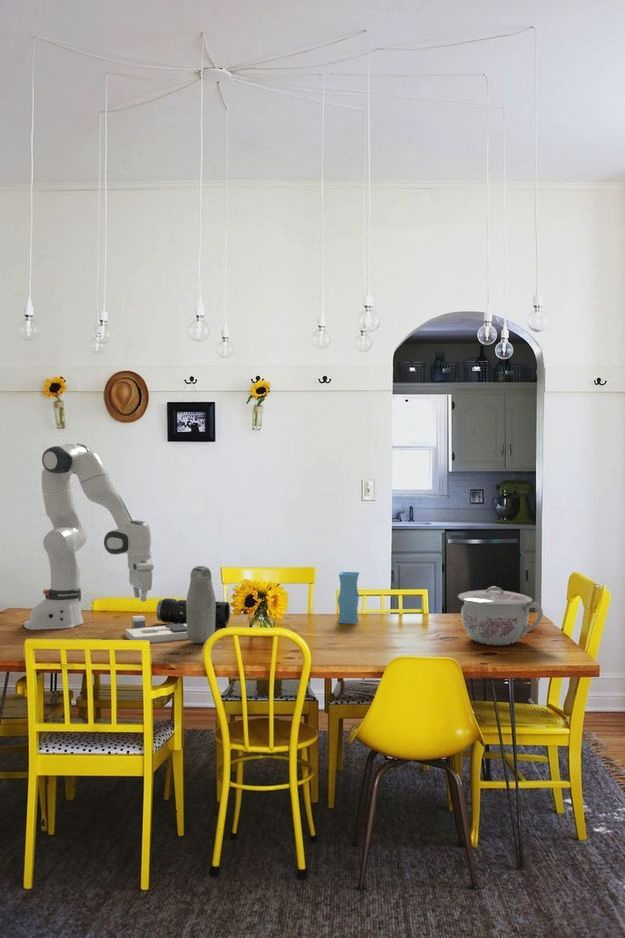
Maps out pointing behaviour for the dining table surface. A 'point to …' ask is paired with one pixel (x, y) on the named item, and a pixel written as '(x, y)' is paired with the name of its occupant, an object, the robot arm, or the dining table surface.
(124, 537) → the robot arm
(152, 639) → the outlet board
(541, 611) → the chamber pot
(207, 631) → the grey bottle
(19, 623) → the dining table surface
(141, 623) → the charger plug
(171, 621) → the black camera lens
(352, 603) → the vase
